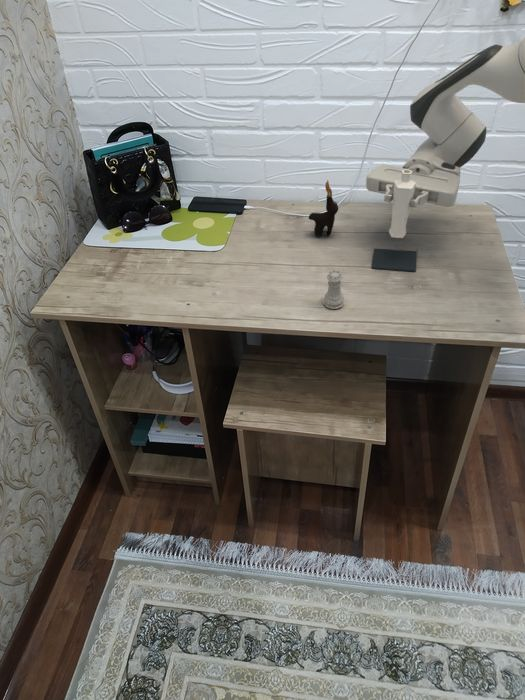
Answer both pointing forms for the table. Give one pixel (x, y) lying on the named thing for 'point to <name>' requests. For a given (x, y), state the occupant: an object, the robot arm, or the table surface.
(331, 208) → the figurine
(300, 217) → the table surface
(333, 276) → the rook chess piece
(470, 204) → the table surface
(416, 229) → the table surface
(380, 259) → the mat
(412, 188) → the perfume bottle
